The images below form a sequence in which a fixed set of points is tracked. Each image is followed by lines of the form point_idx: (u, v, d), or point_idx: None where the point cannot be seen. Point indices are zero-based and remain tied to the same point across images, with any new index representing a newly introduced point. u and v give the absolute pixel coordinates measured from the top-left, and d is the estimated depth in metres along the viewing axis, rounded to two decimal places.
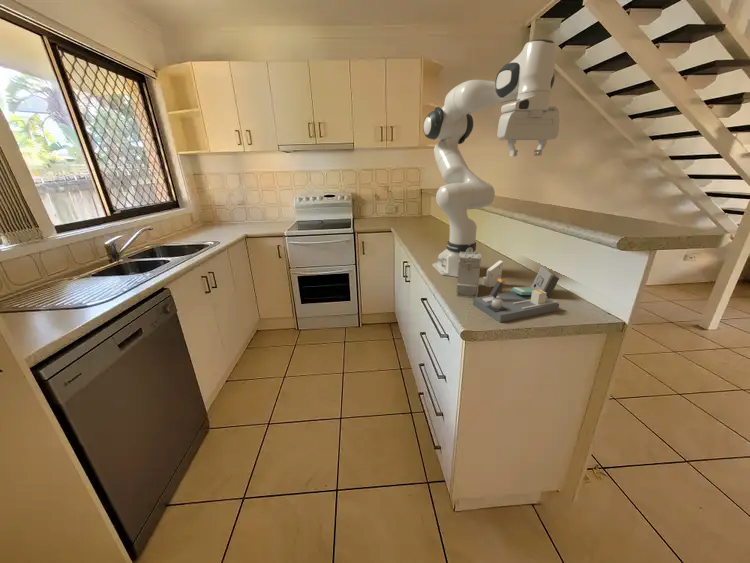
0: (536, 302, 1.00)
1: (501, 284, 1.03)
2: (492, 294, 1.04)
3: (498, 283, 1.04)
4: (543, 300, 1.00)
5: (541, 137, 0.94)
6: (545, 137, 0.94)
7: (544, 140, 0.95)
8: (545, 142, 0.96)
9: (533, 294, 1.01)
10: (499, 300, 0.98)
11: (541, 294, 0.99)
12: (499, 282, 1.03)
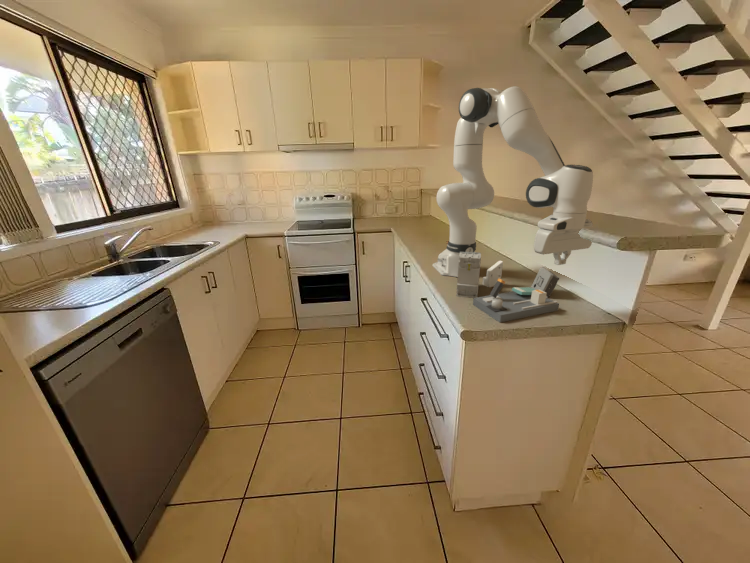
0: (536, 302, 1.00)
1: (501, 284, 1.03)
2: (492, 294, 1.04)
3: (498, 283, 1.04)
4: (543, 300, 1.00)
5: (575, 248, 0.97)
6: (579, 248, 0.98)
7: (568, 251, 0.97)
8: (569, 253, 0.98)
9: (533, 294, 1.01)
10: (499, 300, 0.98)
11: (541, 294, 0.99)
12: (499, 282, 1.03)
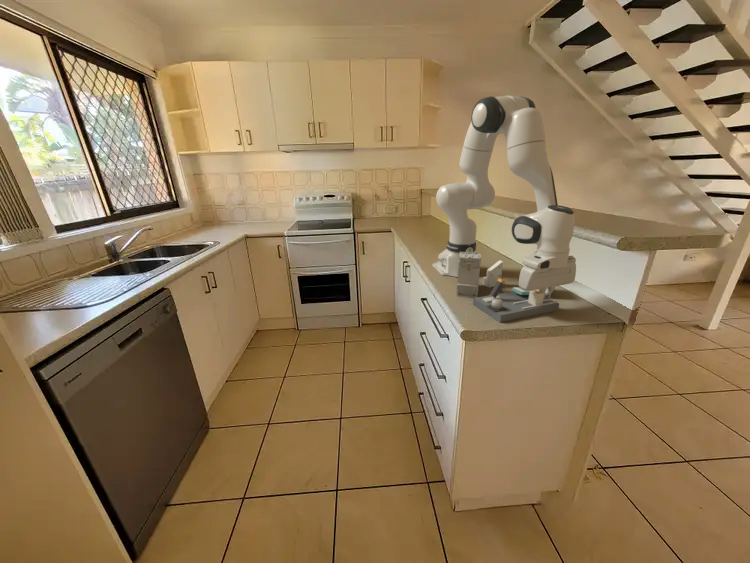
0: (534, 302, 1.00)
1: (501, 284, 1.03)
2: (492, 294, 1.04)
3: (498, 283, 1.04)
4: (541, 300, 1.00)
5: (559, 284, 1.00)
6: (563, 283, 1.01)
7: (552, 286, 1.00)
8: (553, 288, 1.01)
9: (531, 294, 1.01)
10: (499, 300, 0.98)
11: (539, 294, 0.99)
12: (499, 282, 1.03)
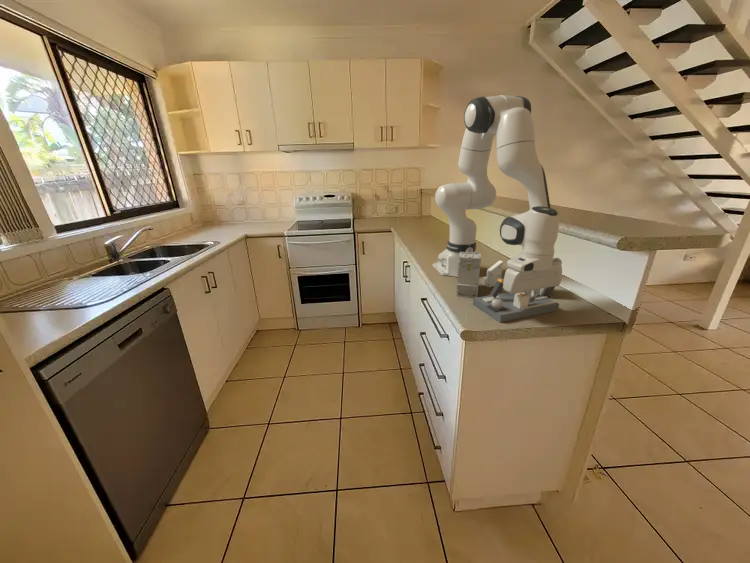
0: (519, 305, 0.98)
1: (501, 284, 1.03)
2: (492, 294, 1.04)
3: (498, 283, 1.04)
4: (526, 303, 0.98)
5: (545, 287, 0.98)
6: (548, 286, 0.99)
7: (537, 289, 0.99)
8: (538, 290, 0.99)
9: (516, 297, 0.99)
10: (499, 300, 0.98)
11: (523, 297, 0.97)
12: (499, 282, 1.03)
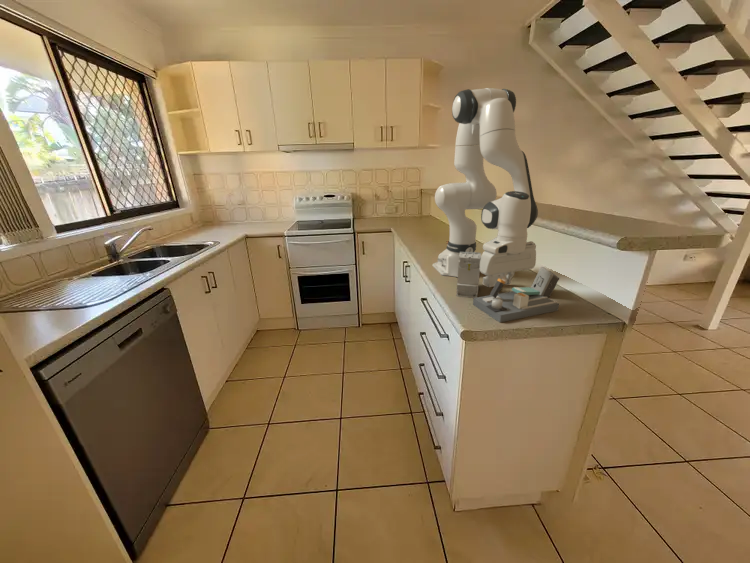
0: (518, 305, 0.98)
1: (501, 284, 1.03)
2: (492, 294, 1.04)
3: (498, 283, 1.04)
4: (525, 303, 0.98)
5: (519, 269, 1.03)
6: (523, 269, 1.03)
7: (512, 272, 1.03)
8: (513, 273, 1.03)
9: (515, 297, 0.99)
10: (499, 300, 0.98)
11: (523, 297, 0.97)
12: (499, 282, 1.03)
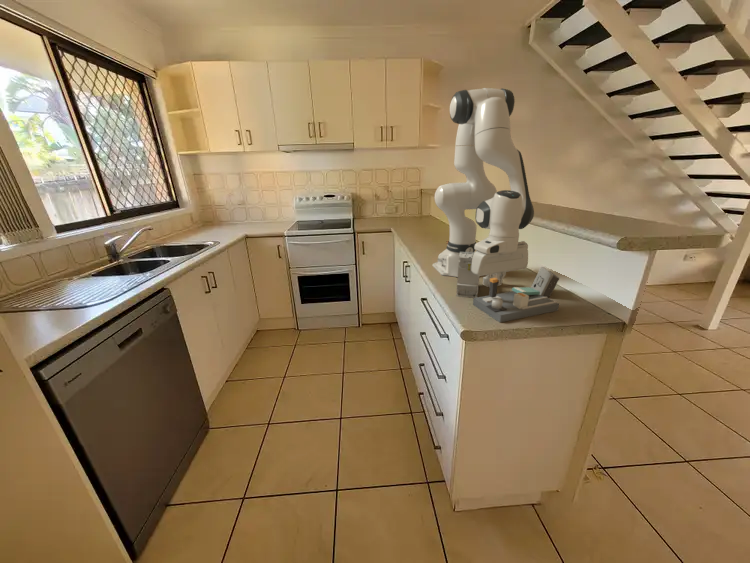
0: (518, 305, 0.98)
1: (495, 283, 1.02)
2: (491, 295, 1.04)
3: (491, 284, 1.03)
4: (525, 303, 0.98)
5: (512, 269, 1.01)
6: (515, 269, 1.02)
7: (503, 272, 1.01)
8: (504, 274, 1.01)
9: (515, 297, 0.99)
10: (499, 300, 0.98)
11: (523, 297, 0.97)
12: (492, 283, 1.02)
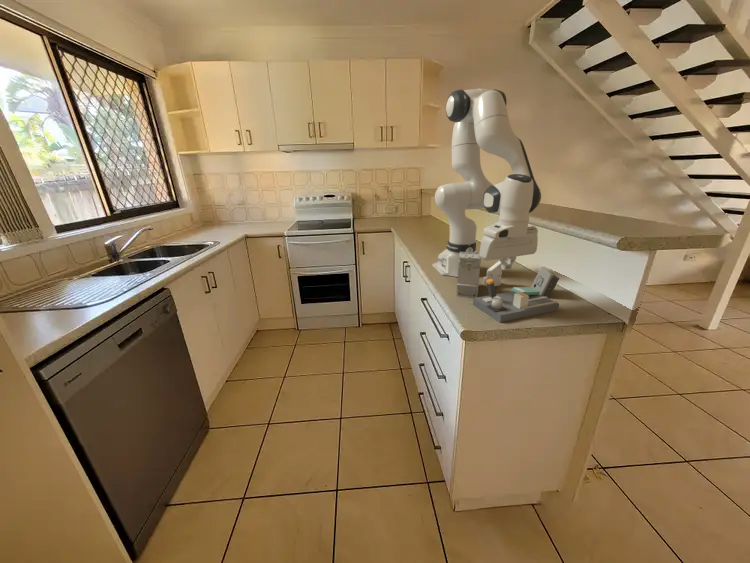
0: (518, 305, 0.98)
1: (492, 284, 1.02)
2: (491, 296, 1.04)
3: (488, 285, 1.03)
4: (525, 303, 0.98)
5: (520, 254, 1.01)
6: (524, 254, 1.02)
7: (513, 257, 1.02)
8: (514, 258, 1.02)
9: (515, 297, 0.99)
10: (499, 300, 0.98)
11: (523, 297, 0.97)
12: (488, 284, 1.02)
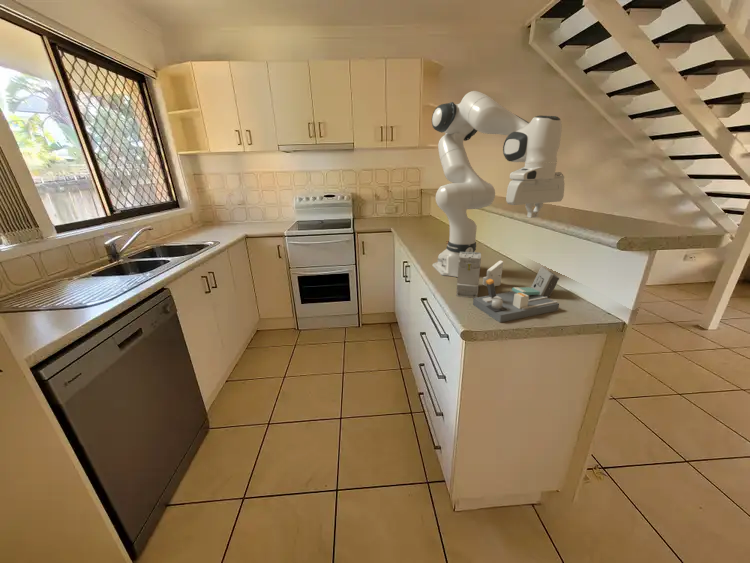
0: (518, 305, 0.98)
1: (492, 284, 1.02)
2: (491, 296, 1.04)
3: (488, 285, 1.03)
4: (525, 303, 0.98)
5: (547, 201, 0.99)
6: (551, 200, 1.00)
7: (540, 203, 1.00)
8: (541, 205, 1.00)
9: (515, 297, 0.99)
10: (499, 300, 0.98)
11: (523, 297, 0.97)
12: (488, 284, 1.02)
